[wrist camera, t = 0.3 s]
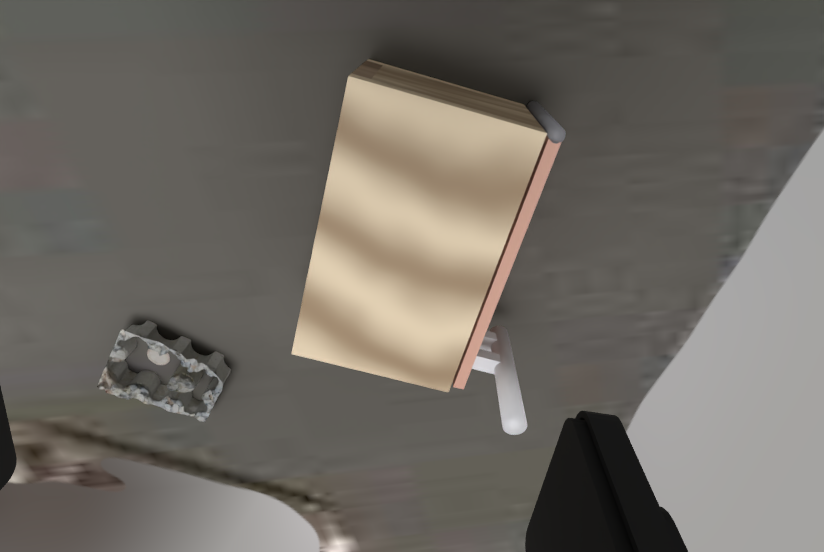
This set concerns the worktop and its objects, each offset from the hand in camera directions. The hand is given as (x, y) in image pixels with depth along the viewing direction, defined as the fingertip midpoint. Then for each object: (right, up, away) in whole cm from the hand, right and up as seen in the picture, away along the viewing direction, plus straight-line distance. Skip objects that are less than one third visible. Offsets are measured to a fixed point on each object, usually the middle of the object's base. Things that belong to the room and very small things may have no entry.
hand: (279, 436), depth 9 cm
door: (+10, +7, +36) cm, 38 cm away
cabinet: (+2, +8, +36) cm, 37 cm away
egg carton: (-21, -6, +45) cm, 50 cm away
